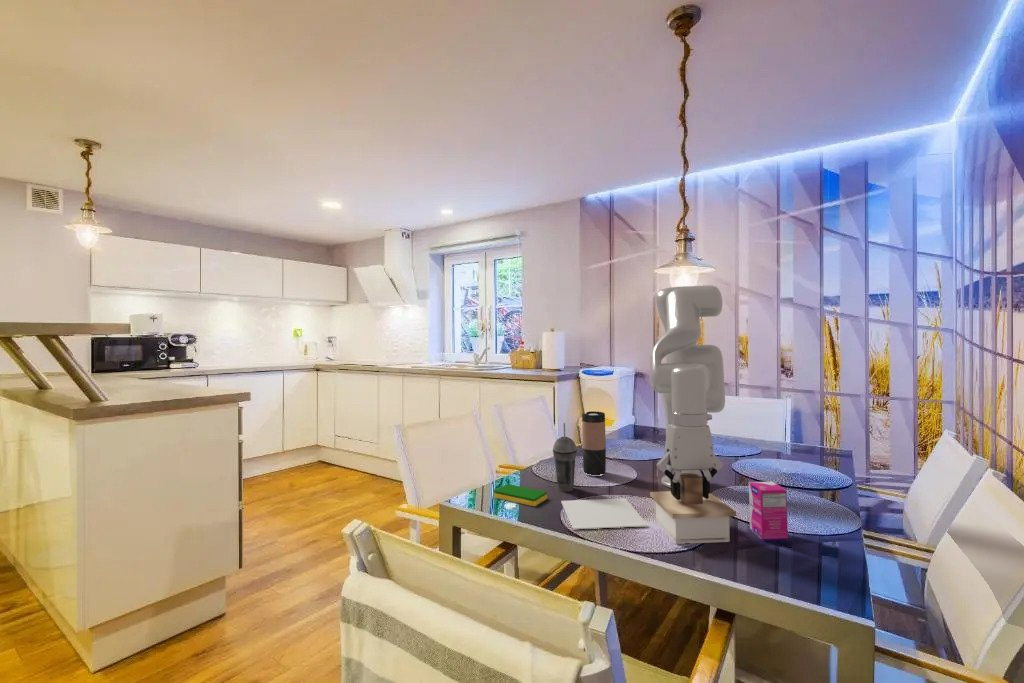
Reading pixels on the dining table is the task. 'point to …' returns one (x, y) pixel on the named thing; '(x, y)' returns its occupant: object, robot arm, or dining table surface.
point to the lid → (691, 500)
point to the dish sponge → (520, 495)
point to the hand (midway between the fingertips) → (690, 496)
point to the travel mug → (594, 443)
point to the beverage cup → (565, 462)
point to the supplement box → (768, 511)
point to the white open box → (693, 528)
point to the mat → (602, 514)
